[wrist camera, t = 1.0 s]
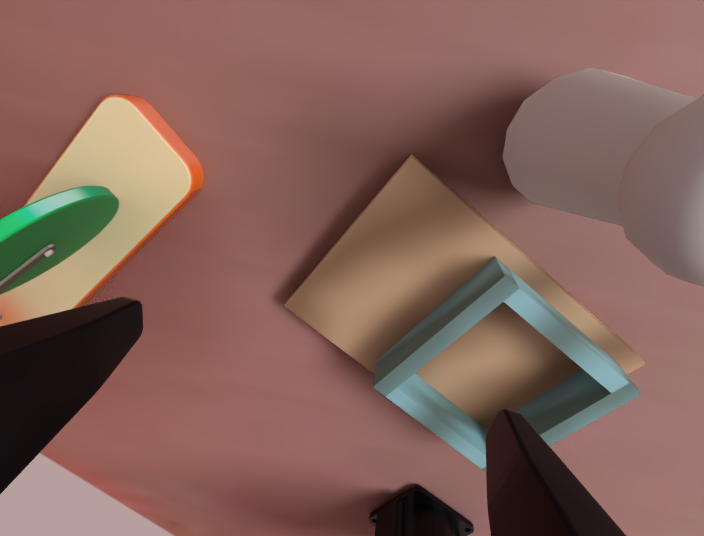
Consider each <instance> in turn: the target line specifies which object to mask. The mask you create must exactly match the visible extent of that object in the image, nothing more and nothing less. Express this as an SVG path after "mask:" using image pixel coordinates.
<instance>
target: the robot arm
mask: <svg viewBox="0 0 704 536" xmlns="http://www.w3.org/2000/svg"><path fill="white" fill-rule="evenodd" d="M142 331H143V313H142V304H141V302H140V301H138V300H135V299H131V298H128V297H119V298H115V299H111V300H107V301H103V302H99V303H95V304H91V305H86V306H82V307H78V308H74V309H70V310H66V311H62V312H58V313H53V314H49V315H45V316H41V317H37V318H33V319H29V320H25V321H21V322H16V323H12V324H8V325H4V326H0V494H1V493H2V492H3V491H4V490H5V488H7V486H8V485H9V484H10V483H11V482H12V481H13V480H14V479H15V478H16V477H17V476H18V475H19V474H20V473H21V472H22V470H23V469H24V468H25V467H26V466H27V465H28V464H29V463H30V462H31V461H32V460H33V459H34V458H35V456H37V455H38V454H39V453H40V452H41V450H42V449H43V448H44V447H45V446H46V445H47V444H48V443H49V442H50V441H51V440H52V439H53V438H54V437H55V436H56V435H57V433H58V432H59V431H60V430H61V429H62V428H63V427H64V426H65V425H66V424H67V423H68V422H69V421H70V420H71V419H72V418H73V417H74V415H75V414H76V413H77V412H78V411H79V410H80V409H81V408H82V407H83V406H84V405H85V404H86V403H87V402H88V401H89V400H90V398H91V397H92V396H93V395H94V394H95V393H96V392H97V391H98V390H99V389H100V387H101V386H102V385H103V384H104V383H105V381H106V380H107V379H108V378H109V376H110V375H111V374H112V372H113V371H114V370H115V369H116V367H117V366H118V365H119V363H120V362H121V361H122V359H123V358H124V357H125V356H126V354H127V353H128V352H129V350H130V349H131V348H132V347H133V345H134V344H135V343H136V341H137V340H138V339H139V337H140V336H141V334H142ZM486 476H487V504H488V515H489V523H490V531H491V536H626V535H625V534H624V532H623V531H622V530H621V529H620V528H619V527H618V526H617V524H616V523H615V522H614V521H613V520H612V519H611V517H610V516H609V515H608V514H607V513H606V512H605V510H604V509H603V508H602V507H601V506H600V505H599V503H598V502H597V501H596V500H595V499H594V498H593V497H592V495H591V494H590V493H589V492H588V491H587V490H586V488H585V487H584V486H583V485H582V484H581V483H580V481H579V480H578V479H577V478H576V477H575V476H574V475H573V473H572V472H571V471H570V470H569V469H568V468H567V466H566V465H565V464H564V463H563V462H562V461H561V459H560V458H559V457H558V456H557V455H556V454H555V452H554V451H553V450H552V449H551V448H550V447H549V446H548V444H547V443H546V442H545V441H544V440H543V439H542V437H541V436H540V435H539V434H538V433H537V432H536V430H535V429H534V428H533V427H532V426H531V425H530V424H529V422H528V421H527V420H526V419H525V418H524V417H523V415H522V414H520V413H519V412H516V411H513V410H509V409H506V408H503V409H501V410H500V411H499V412H498V413H497V415H496V417H495V419H494V420H493V422H492V424H491V426H490V427H489V429H488V431H487V434H486ZM369 521H370V523H372V524H373V525H375V526H376V530H375V536H467V535H469V534H471V533H473V532H474V528H473V524H472V523H471V522H470V521H468V520H467V519H466V518H464V517H463V516H461V515H460V514H459V513H457V512H456V511H455V510H453V509H452V508H450V507H449V506H448V505H446V504H445V503H443V502H442V501H441V500H439V499H438V498H436V497H435V496H434V495H432V494H431V493H429V492H428V491H427V490H425V489H424V488H422V487H420V486H414V487H412V488H411V489H409V490H408V491H406V492H404V493H403V494H401V495H400V496H398V497H396V498H395V499H393V500H391V501H390V502H388V503H387V504H385V505H383V506H382V507H380V508H379V509H377V510H375V511H374V512H372V513H371V514H370V516H369Z"/></svg>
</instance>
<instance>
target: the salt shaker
mask: <svg viewBox="0 0 704 536" xmlns="http://www.w3.org/2000/svg"><path fill="white" fill-rule="evenodd" d="M503 160H504V163H505V166H506V169H507V172H508V175H509V177H510V180H511V183H512V186H514V187H515V188H516V189H517V190H518V191H519V192H520V193H521V194H522V195H524V196H525V197H526V198H527V199H528V200H529V201H530V202H531V203H534V204H538V205H542V206H546V207H550V208H554V209H558V210H561V211H565V212H569V213H573V214H577V215H581V216H585V217H589V218H593V219H597V220H601V221H605V222H609V223H613V224H617V225H621V226H623V228H624V232H625V235H626V238H627V239H628V240H629V241H630V242H631V243H632V244H633V245H634V246H635V247H636V248H638V249H639V250H640V251H641V252H642V253H643V254H644V255H645V256H646V257H647V258H648V259H649V260H650V261H651V262H652V263H654V264H655V265H656V266H657V267H659V268H660V269H661V270H662V271H664V272H665V273H666V274H668V275H671V276H673V277H676V278H679V279H681V280H684V281H687V282H689V283H693V284H697V285H702V286H704V95H703V96H701V97H700V98H698V99H697V98H694V97H691V96H687V95H684V94H680V93H677V92H673V91H670V90H667V89H663V88H660V87H656V86H653V85H649V84H646V83H643V82H641V81H638V80H635V79H632V78H629V77H626V76H623V75H619V74H615V73H611V72H607V71H603V70H599V69H595V68H588V69H584V70H581V71H577V72H573V73H570V74H566V75H563V76H559V77H556V78H554V79H553V80H552V81H550V82H549V83H547V84H546V85H545V86H543V87H542V88H540V89H539V90H538V91H536V92H535V93H533V94H532V95H531V96H529V97H528V98H526V99H525V100H524V102H523V103H522V105H521V107H520V108H519V110H518V112H517V113H516V115H515V117H514V118H513V120H512V122H511V123H510V125H509V127H508V128H507V133H506V139H505V145H504V151H503Z"/></svg>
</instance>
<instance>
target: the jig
mask: <svg viewBox="0 0 704 536" xmlns="http://www.w3.org/2000/svg"><path fill="white" fill-rule="evenodd" d="M284 306H285V307H286V308H287V309H289V310H290V311H291V312H293V313H294V314H295V315H297V316H298V317H299V318H301V319H302V320H303V321H304V322H306V323H307V324H308V325H310V326H311V327H312V328H314V329H315V330H316V331H318V332H319V333H320V334H322V335H323V336H324V337H326V338H327V339H328V340H330V341H331V342H332V343H334V344H335V345H336V346H338V347H339V348H340V349H341V350H343V351H344V352H345V353H347V354H348V355H349V356H351V357H352V358H353V359H355V360H356V361H357V362H359V363H360V364H361V365H363V366H364V367H365V368H367V369H368V370H369V371H371V372H372V373H373V374H375V376H374V383H373V388H375V389H376V390H377V391H379V392H380V393H381V394H383V395H384V396H385V397H387V398H388V399H389V400H391V401H392V402H393V403H395V404H396V405H397V406H399V407H400V408H401V409H403V410H404V411H405V412H407V413H408V414H409V415H411V416H412V417H413V418H415V419H416V420H417V421H419V422H420V423H421V424H423V425H424V426H425V427H427V428H428V429H429V430H431V431H432V432H433V433H435V434H436V435H437V436H439V437H440V438H441V439H443V440H444V441H445V442H447V443H448V444H449V445H451V446H452V447H453V448H455V449H456V450H457V451H459V452H460V453H461V454H463V455H464V456H465V457H467V458H468V459H469V460H471V461H472V462H473V463H475V464H476V465H477V466H479V467H480V468H481V469H483V470H484V471H485V472H486V434H487V431H488V429H489V427H490V426H491V424H492V422H493V420H494V419H495V417H496V415H497V413H498V412H499V411H500V410H501V409H503V408H506V409H509V410H513V411H516V412H519V413H520V414H522V415H523V417H524V418H525V419H526V420H527V421H528V422H529V424H530V425H531V426H532V427H533V428H534V429H535V430H536V432H537V433H538V434H539V435H540V436H541V437H542V439H543V440H544V441H545V442H546V443H547V444H548V446H550V445H552V444H554V443H556V442H558V441H559V440H561V439H563V438H565V437H566V436H568V435H570V434H572V433H574V432H575V431H577V430H579V429H581V428H582V427H584V426H586V425H588V424H590V423H591V422H593V421H595V420H597V419H598V418H600V417H602V416H604V415H606V414H607V413H609V412H611V411H613V410H615V409H616V408H618V407H620V406H622V405H623V404H625V403H627V402H629V401H631V400H632V399H634V398H636V397H638V396H639V395H641V392H640V391H639V390H638V388H637V387H636V386H635V384H634V383H633V382H632V381H631V379H630V378H629V377H628V375H627V374H629V373H631V372H632V371H634V370H636V369H637V368H639V367H641V366H643V365H644V364H645V362H644V361H643V360H642V359H641V358H640V357H639V356H638V354H637V353H636V352H635V351H634V350H633V349H632V348H631V347H629V346H628V345H627V344H626V343H625V342H624V341H623V340H621V339H620V338H619V337H618V336H617V335H616V334H615V333H614V332H612V331H611V330H610V329H609V328H608V327H607V326H606V325H605V324H603V323H602V322H601V321H600V320H599V319H598V318H597V317H596V316H594V315H593V314H592V313H591V312H590V311H589V310H588V309H586V308H585V307H584V306H583V305H582V304H581V303H580V302H579V301H577V300H576V299H575V298H574V297H573V296H572V295H571V294H570V293H568V292H567V291H566V290H565V289H564V288H563V287H562V286H561V285H559V284H558V283H557V282H556V281H555V280H554V279H553V278H551V277H550V276H549V275H548V274H547V273H546V272H545V271H544V270H542V269H541V268H540V267H539V266H538V265H537V264H536V263H535V262H533V261H532V260H531V259H530V258H529V257H528V256H527V255H525V254H524V253H523V252H522V251H521V250H520V249H519V248H518V247H516V246H515V245H514V244H513V243H512V242H511V241H510V240H509V239H507V238H506V237H505V236H504V235H503V234H502V233H501V232H500V231H498V230H497V229H496V228H495V227H494V226H493V225H492V224H490V223H489V222H488V221H487V220H486V219H485V218H484V217H483V216H481V215H480V214H479V213H478V212H477V211H476V210H475V209H474V208H472V207H471V206H470V205H469V204H468V203H467V202H466V201H464V200H463V199H462V198H461V197H460V196H459V195H458V194H457V193H455V192H454V191H453V190H452V189H451V188H450V187H449V186H448V185H446V184H445V183H444V182H443V181H442V180H441V179H440V178H439V177H437V176H436V175H435V174H434V173H433V172H432V171H431V170H429V169H428V168H427V167H426V166H425V165H424V164H423V163H422V162H420V161H419V160H418V159H417V158H416V157H415V156H414V155H413V154H411V155H410V156H409V157H408V158H407V159H406V161H405V162H404V163H403V164H402V165H401V166H400V168H399V169H398V170H397V171H396V172H395V173H394V175H393V176H392V177H391V178H390V179H389V181H388V182H387V183H386V184H385V185H384V186H383V188H382V189H381V190H380V191H379V192H378V193H377V195H376V196H375V197H374V198H373V199H372V201H371V202H370V203H369V204H368V205H367V206H366V208H365V209H364V210H363V211H362V212H361V214H360V215H359V216H358V217H357V218H356V219H355V221H354V222H353V223H352V224H351V225H350V226H349V228H348V229H347V230H346V231H345V232H344V234H343V235H342V236H341V237H340V238H339V239H338V241H337V242H336V243H335V244H334V245H333V246H332V248H331V249H330V250H329V251H328V252H327V254H326V255H325V256H324V257H323V258H322V259H321V261H320V262H319V263H318V264H317V265H316V266H315V268H314V269H313V270H312V271H311V272H310V274H309V275H308V276H307V277H306V278H305V279H304V281H303V282H302V283H301V284H300V285H299V286H298V288H297V289H296V290H295V291H294V292H293V294H292V295H291V296H290V297H289V299H288V300H287V302H286V303H285V305H284Z"/></svg>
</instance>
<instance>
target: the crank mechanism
mask: <svg viewBox="0 0 704 536" xmlns="http://www.w3.org/2000/svg"><path fill="white" fill-rule="evenodd" d="M203 182H204V173H203V169H202V167H201V164H200V162H199V161H198V159H197V158H196V156H195V155H194V154H193V153H192V152H191V151H190V149H189V148H188V147H187V146H186V145H185V144H184V143H183V141H182V140H181V139H180V138H179V137H178V136H177V135H176V133H175V132H174V131H173V130H172V129H171V128H170V127H169V125H168V124H167V123H166V122H165V121H164V120H163V119H162V117H161V116H160V115H159V114H158V113H157V112H156V111H155V109H154V108H153V107H152V106H151V105H150V104H149V103H147V102H146V101H145V100H143V99H141V98H139V97H137V96H131V95H111V96H107V97H105V98H104V99H103V100H102V101H101V102H100V103H99V104H98V106H97V107H96V108H95V110H94V111H93V112H92V114H91V115H90V116H89V118H88V119H87V121H86V122H85V123H84V125H83V126H82V127H81V129H80V130H79V131H78V133H77V134H76V135H75V137H74V138H73V140H72V141H71V142H70V144H69V145H68V146H67V148H66V149H65V150H64V152H63V153H62V154H61V156H60V157H59V159H58V160H57V161H56V163H55V164H54V165H53V167H52V168H51V169H50V171H49V172H48V173H47V175H46V176H45V177H44V179H43V180H42V182H41V183H40V184H39V186H38V187H37V188H36V190H35V191H34V192H33V194H32V195H31V196H30V198H29V199H28V201H27V202H26V203H25V205H24V206H23V207H22V208H20V209H18V210H16V211H14V212H12V213H10V214H9V215H7V216H5V217H3V218H1V219H0V326H4V325H8V324H12V323H16V322H21V321H25V320H29V319H33V318H37V317H41V316H45V315H49V314H53V313H58V312H62V311H66V310H70V309H74V308H78V307H82V306H84V305H85V304H86V303H87V302H88V301H89V300H90V299H91V298H92V297H93V296H94V295H95V294H96V293H97V292H98V291H99V290H100V289H101V288H102V287H103V286H104V285H105V284H106V283H107V282H108V281H109V280H110V279H111V278H112V277H113V276H114V275H115V274H116V273H117V272H118V271H119V270H121V269H122V268H123V267H124V266H125V265H126V264H127V263H128V262H129V261H130V260H131V259H132V258H133V257H134V256H135V255H136V254H137V253H138V252H139V251H140V250H141V249H142V248H143V247H144V246H145V245H146V244H147V243H148V242H149V241H150V240H151V239H152V238H153V237H154V236H155V235H156V234H157V233H158V232H159V231H160V230H161V229H162V228H163V227H164V226H165V225H166V224H167V223H169V222H170V221H171V220H172V219H173V218H174V217H175V216H176V215H177V214H178V213H179V212H180V211H181V210H182V209H183V208H184V207H185V206H186V205H187V204H188V203H189V202H190V201H191V200H192V199H193V198H194V197H195V196H196V195H197V194H198V193H199V192H200V190H201V189H202V186H203Z"/></svg>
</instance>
